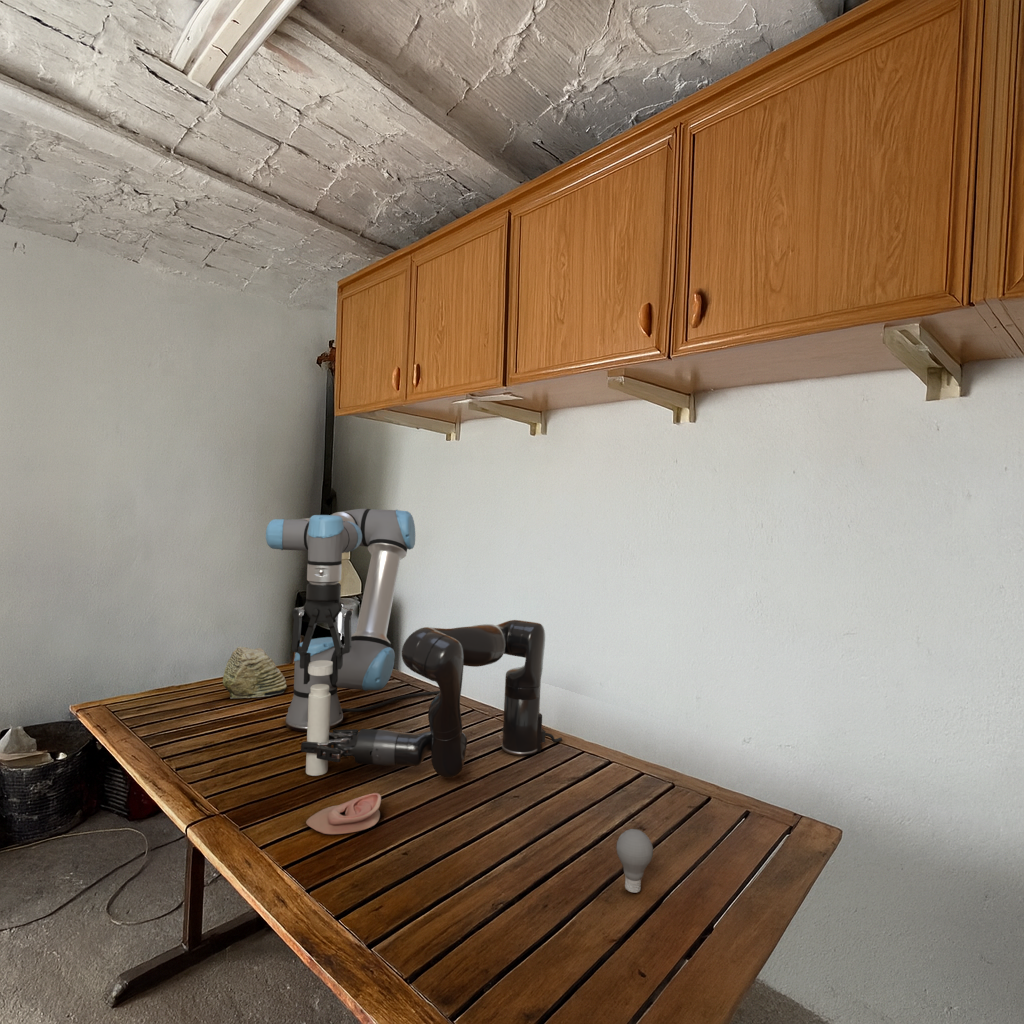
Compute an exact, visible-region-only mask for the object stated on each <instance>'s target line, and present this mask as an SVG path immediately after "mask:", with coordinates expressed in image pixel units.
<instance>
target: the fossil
mask: <svg viewBox="0 0 1024 1024" xmlns="http://www.w3.org/2000/svg"><path fill="white" fill-rule="evenodd" d="M222 676H223V677H222V685H223V687H224V688H225V690H226V691H228V693H229V698H230V699H250V698H264V697H271V696H275V695H281V694H284V693H285V691H286V689H287V687H288V686H287V680H286V678H285V676H284V674H283V673H282V672H281V669H279V668H278V667H277V665H276V663H275V662H274V660H273V659H272V658H271V657H270V656H269V655H268V654H267V653H266V652H265V650H264V649H263V648H260V647H258V648H251V647H247V646H246V647H245V646H238V647H237V648H236V649H235V650H233V651H232V653H231V656H230V657H229V659H228V660H227V663H226V666H225V668H224V671H223V675H222Z"/></svg>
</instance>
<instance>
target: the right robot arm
mask: <svg viewBox="0 0 1024 1024" xmlns="http://www.w3.org/2000/svg"><path fill="white" fill-rule="evenodd" d="M545 649H546V630H545V627H544V625H543V624H542V623H539V622H535V621H529V620H528V621H527V620H519V619H510V620H507V621H504V622H501V623H498V624H491V623H486V624H475V625H469V626H460V627H452V628H444V627H443V628H441V627H431V626H424V627H420V628H418V629H415V631H413V632H412V633H410V634H409V636H407V638H406V639H405V641H404V642H403V645H402V648H401V659H402V662H403V663H404V665H405V666H406V668H408V669H409V670H410V671H412V673H413V672H414V673H416V674H417V675H419V676H421V677H423V678H425V679H427V680H429V681H432V682H434V683H436V684H437V686H438V689H439V691H440V693H439V694H436V696H435V697H434V698H433V699H432V700H431V702H430V705H429V707H428V712H427V714H428V715H427V717H428V718H427V719H428V725H429V731H424V732H419V733H412V732H400V731H395V730H388V729H387V730H385V729H373V728H361V729H360V730H359V729H357V728H356V729H354V728H353V729H351V728H349V729H333V730H332V731H331V732H330V731H329V741H328V742H322V743H318V742H307V741H304V740H303V741H302V742H301V744H300V752H301V753H317V759H322V760H328V762H333V763H341V761H342V758H347V757H352V758H354V761H355V763H356V764H360V765H371V766H388V767H389V766H401V767H403V766H404V767H418V766H420V765H421V764H423V762H424V760H425V758H426V756H427V755H428V754H430V757H431V759H430V760H431V766H432V768H433V771H434V772H435V773H436V774H437V775H439V776H440V777H442V778H445V779H452V778H455V777H456V776H458V775H459V774H460V773H461V772H462V771H463V769H464V764H465V758H466V752H467V747H468V738H467V735H466V734H465V733H464V732H463V720H462V714H461V713H462V712H461V697H462V687H463V677H464V667H473V668H474V667H475V668H479V667H483V666H488V665H493V664H494V663H496V662H498V661H500V660H501V658H502V657H503V656H504V655H509V656H512V657H519V658H523V659H524V658H525V661H524V665H521V666H517V667H513V668H510V669H509V670H507V671H506V672H505V676H504V677H505V679H504V698H503V699H504V701H503V705H504V706H503V726H502V728H501V733H502V740H501V741H502V742H501V749H502V751H503V752H504V753H506V754H509V755H512V756H521V757H524V756H525V757H526V756H532V755H534V754H537V753H538V752H542V743H546V737H548V738H550V740H551V741H552V743H553V742H554V743H558V742H562V741H563V738H562V737H557V738H555V736H554V735H553V734H552V733H549V732H546V730H544V728H543V714H542V713H541V712H540V710H541V709H540V708H541V686H542V676H543V669H544V658H545V656H544V655H545ZM325 746H328V747H325Z"/></svg>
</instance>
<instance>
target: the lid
mask: <svg viewBox="0 0 1024 1024" xmlns="http://www.w3.org/2000/svg"><path fill="white" fill-rule="evenodd" d="M332 669H333V662H332V661H327V660H319V661H313V662H310V663H309V666H308V674H310V675H313V676H326V675H330V674H332Z"/></svg>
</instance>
